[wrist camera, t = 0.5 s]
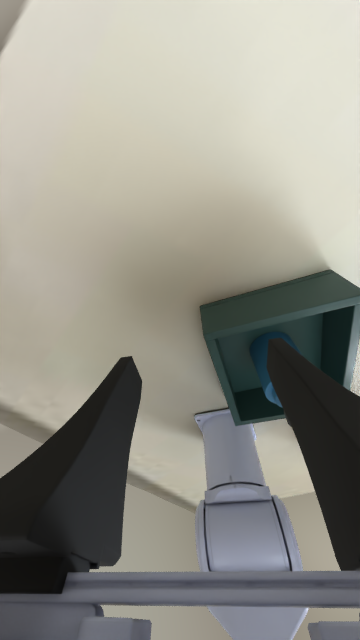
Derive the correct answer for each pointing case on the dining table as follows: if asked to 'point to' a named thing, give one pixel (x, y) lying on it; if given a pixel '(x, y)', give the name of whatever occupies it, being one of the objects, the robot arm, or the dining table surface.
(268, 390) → the bottle
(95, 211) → the dining table surface
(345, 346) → the bin
